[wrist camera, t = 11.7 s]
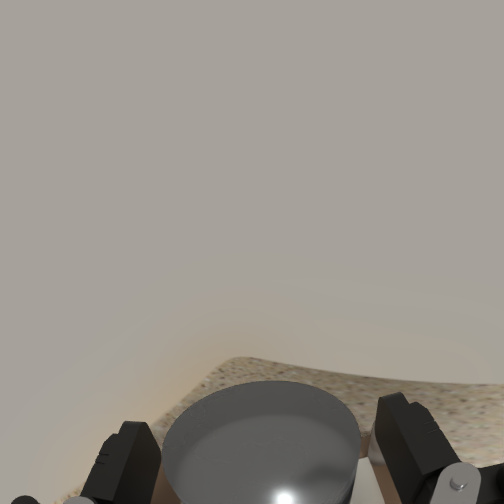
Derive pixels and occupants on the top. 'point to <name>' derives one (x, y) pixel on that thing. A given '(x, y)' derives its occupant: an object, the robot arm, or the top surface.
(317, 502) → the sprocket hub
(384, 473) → the mount board
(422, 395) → the top surface
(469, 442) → the top surface
